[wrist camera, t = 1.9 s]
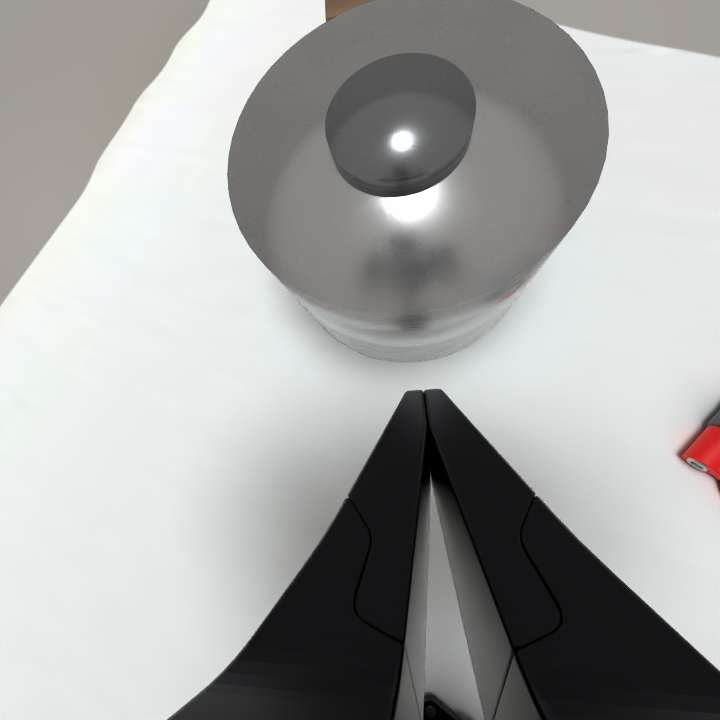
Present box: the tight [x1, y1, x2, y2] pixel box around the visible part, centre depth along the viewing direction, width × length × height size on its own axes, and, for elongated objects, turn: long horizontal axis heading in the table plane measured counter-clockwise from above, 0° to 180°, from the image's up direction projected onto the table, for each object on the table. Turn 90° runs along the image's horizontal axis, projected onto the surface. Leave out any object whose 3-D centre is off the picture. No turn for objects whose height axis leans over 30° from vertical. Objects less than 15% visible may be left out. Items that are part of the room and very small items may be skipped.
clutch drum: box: [227, 0, 609, 362], centre depth 18 cm, size 16×16×11 cm
